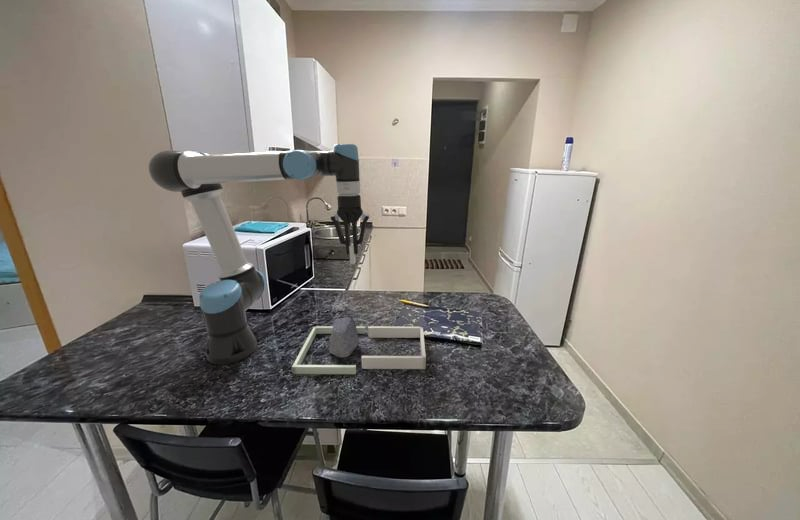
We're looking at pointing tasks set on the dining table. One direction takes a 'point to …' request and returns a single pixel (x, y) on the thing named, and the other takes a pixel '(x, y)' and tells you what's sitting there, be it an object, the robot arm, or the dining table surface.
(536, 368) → the dining table surface
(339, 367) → the pale green u-shaped frame
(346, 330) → the stone
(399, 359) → the frame
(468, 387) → the dining table surface
